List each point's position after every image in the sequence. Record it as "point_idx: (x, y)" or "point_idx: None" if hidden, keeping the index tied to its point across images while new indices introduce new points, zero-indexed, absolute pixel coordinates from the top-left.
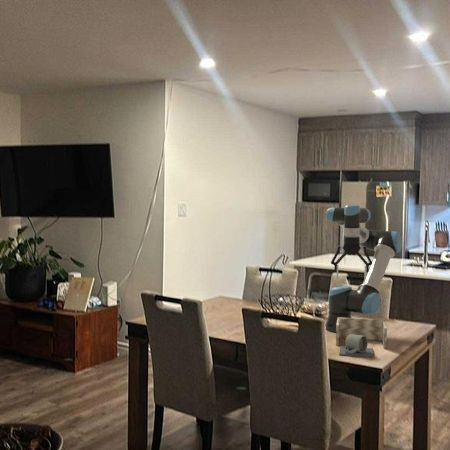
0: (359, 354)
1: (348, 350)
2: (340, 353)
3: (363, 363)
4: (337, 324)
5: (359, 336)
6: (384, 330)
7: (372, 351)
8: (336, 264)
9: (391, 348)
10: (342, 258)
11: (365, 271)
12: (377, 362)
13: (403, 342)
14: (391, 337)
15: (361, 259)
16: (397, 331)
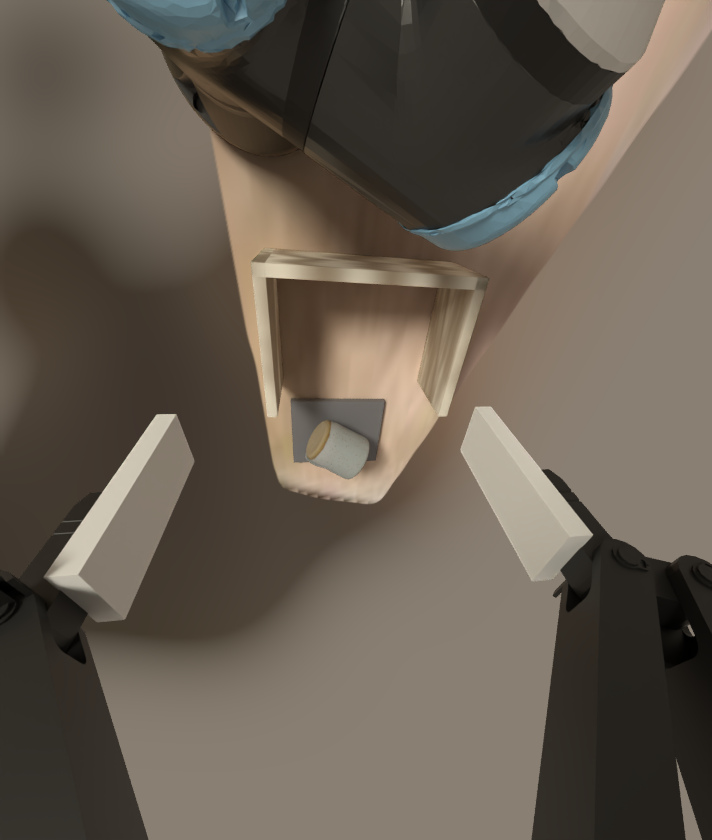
0: None
1: None
2: (296, 461)
3: (347, 492)
4: (271, 409)
5: (346, 475)
6: (436, 411)
7: (378, 428)
8: (73, 645)
9: None
10: (135, 812)
11: (504, 516)
12: (377, 480)
13: (508, 286)
14: None
15: (548, 727)
16: None
